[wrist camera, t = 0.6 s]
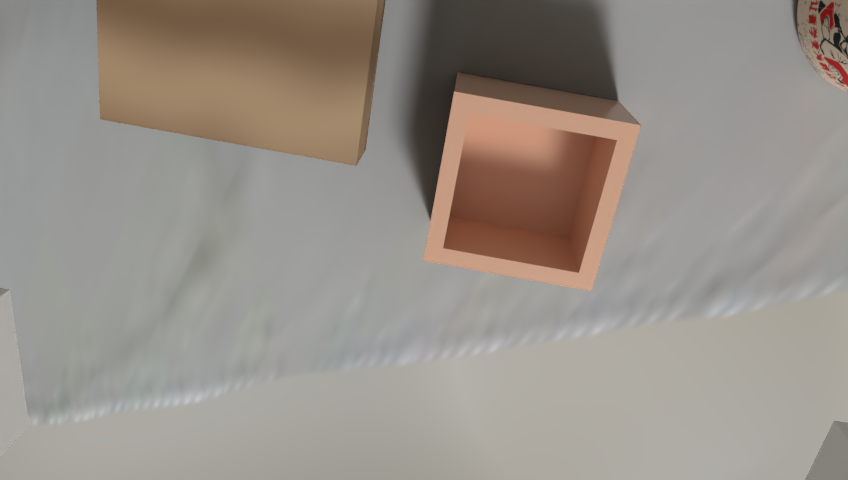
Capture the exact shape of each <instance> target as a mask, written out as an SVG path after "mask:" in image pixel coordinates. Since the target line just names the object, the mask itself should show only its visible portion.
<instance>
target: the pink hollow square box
mask: <svg viewBox="0 0 848 480" xmlns="http://www.w3.org/2000/svg"><path fill="white" fill-rule="evenodd" d="M640 128H641V125H640V123H639V122H638V121H637V120H636V119H635V118H634V117H633V116H632V115H631V114H630V113H629V112H628V111H627V110H626V109H625V107H624V106H623V105H622V104H621V103H620V102H619V101H615V100H609V99H604V98H598V97H592V96H587V95H581V94H576V93H570V92H565V91H559V90H554V89H548V88H543V87H537V86H532V85H526V84H520V83H515V82H509V81H504V80H498V79H493V78H487V77H482V76H476V75H471V74H465V73H460V72H458V73H457V78H456V84H455V89H454V95H453V100H452V106H451V111H450V117H449V122H448V128H447V133H446V139H445V144H444V150H443V155H442V161H441V166H440V172H439V177H438V183H437V188H436V194H435V199H434V205H433V210H432V216H431V221H430V227H429V232H428V238H427V243H426V249H425V254H424V260H423V261H429V262H434V263H440V264H445V265H451V266H456V267H462V268H467V269H473V270H478V271H484V272H489V273H495V274H500V275H506V276H511V277H517V278H522V279H528V280H533V281H539V282H544V283H550V284H555V285H561V286H566V287H572V288H577V289H583V290H588V291H592V288H593V284H594V281H595V278H596V274H597V271H598V268H599V264H600V261H601V258H602V254H603V251H604V248H605V244H606V241H607V238H608V234H609V231H610V228H611V224H612V221H613V218H614V214H615V211H616V208H617V204H618V201H619V198H620V194H621V191H622V188H623V184H624V181H625V178H626V174H627V171H628V168H629V164H630V161H631V158H632V154H633V151H634V148H635V144H636V141H637V138H638V134H639V131H640Z"/></svg>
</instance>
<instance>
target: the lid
mask: <svg viewBox="0 0 848 480" xmlns="http://www.w3.org/2000/svg"><path fill="white" fill-rule="evenodd" d="M384 7H385V0H97V28H98V60H99V93H100V119H102V120H107V121H113V122H118V123H124V124H129V125H135V126H140V127H146V128H151V129H157V130H163V131H168V132H174V133H179V134H185V135H190V136H196V137H201V138H207V139H212V140H218V141H223V142H229V143H234V144H240V145H245V146H251V147H256V148H262V149H267V150H273V151H278V152H284V153H289V154H295V155H300V156H306V157H311V158H317V159H322V160H328V161H333V162H339V163H344V164H350V165H355V166H356V165H357V163H358V162H359V160H360V158H361V157H362V155H363V153H364V151H365V150H366V142H367V135H368V127H369V120H370V112H371V105H372V97H373V90H374V82H375V74H376V67H377V59H378V52H379V44H380V37H381V29H382V22H383V14H384Z"/></svg>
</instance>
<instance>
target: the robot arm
mask: <svg viewBox="0 0 848 480" xmlns="http://www.w3.org/2000/svg"><path fill="white" fill-rule="evenodd" d="M28 426H29V420H28V413H27V406H26V399H25V393H24V386H23V379H22V372H21V365H20V358H19V351H18V344H17V337H16V331H15V324H14V317H13V310H12V303H11V296H10V290H9V289H2V288H0V456H1V455H2V454H3V453H4V452H5V451H6V450H7V449H8V448H9V447H10V445H11V444H12V443H13V442H14V441H15V440H16V439H17V438H18V437H19V436H20V435H21V434H22V433H23V432H24V430H25V429H26V428H27V427H28ZM805 480H848V423H845V422H838V421H834V422H833V424H832V426H831V428H830V430H829V432H828V434H827V436H826V438H825V440H824V442H823V445H822V446H821V449H820V451H819V453H818V455H817V457H816V459H815V461H814V463H813V465H812V467H811V469H810V471H809V473H808V475H807V477H806V479H805Z"/></svg>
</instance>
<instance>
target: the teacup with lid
mask: <svg viewBox="0 0 848 480" xmlns="http://www.w3.org/2000/svg"><path fill="white" fill-rule="evenodd" d="M797 28H798V35H799V40H800V43H801V46H802V49H803V51H804V54H805V56H806V58H807V59H808V61H809V62H810V64H811V65H812V67H813V68H814V69H815V70H816V72H818V73H819V74H820V75H821V76H822V77H823V78H824V79H825V80H827V81H828V82H829V83H831V84H833V85H834V86H836V87H838V88H840V89H843V90H845V91H847V92H848V0H799V1H798V8H797Z"/></svg>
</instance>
